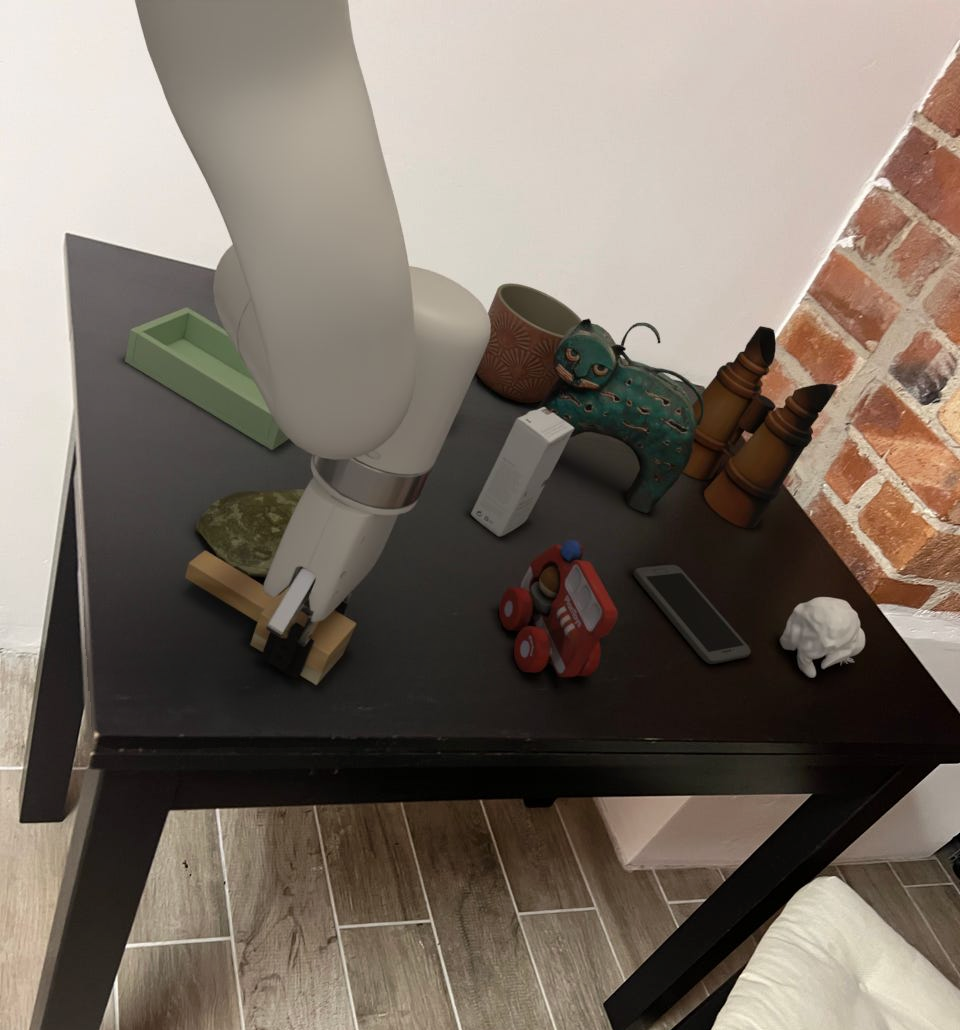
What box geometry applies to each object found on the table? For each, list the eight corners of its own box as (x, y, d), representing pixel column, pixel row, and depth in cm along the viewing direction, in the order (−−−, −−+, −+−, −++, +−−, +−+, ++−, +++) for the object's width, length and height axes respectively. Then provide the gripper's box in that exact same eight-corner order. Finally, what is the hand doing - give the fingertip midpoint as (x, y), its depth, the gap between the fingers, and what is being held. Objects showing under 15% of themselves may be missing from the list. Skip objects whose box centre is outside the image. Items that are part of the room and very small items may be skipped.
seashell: (176, 514, 74) (267, 432, 74) (202, 532, 81) (285, 456, 82) (261, 605, 73) (352, 521, 74) (280, 615, 81) (363, 538, 81)
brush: (171, 598, 70) (180, 564, 67) (206, 570, 73) (215, 537, 71) (315, 686, 69) (329, 654, 67) (343, 654, 73) (357, 623, 71)
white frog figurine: (812, 582, 96) (871, 588, 103) (760, 637, 100) (819, 640, 108) (850, 626, 92) (908, 629, 100) (794, 681, 97) (853, 680, 104)
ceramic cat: (503, 455, 106) (582, 299, 94) (510, 430, 111) (586, 279, 99) (653, 524, 109) (748, 382, 97) (652, 497, 114) (743, 359, 102)
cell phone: (673, 568, 104) (676, 563, 103) (750, 657, 97) (754, 652, 96) (629, 572, 99) (633, 567, 99) (707, 666, 92) (711, 661, 92)
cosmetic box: (500, 539, 94) (552, 444, 86) (466, 514, 94) (515, 417, 87) (527, 521, 98) (579, 428, 91) (495, 497, 99) (543, 403, 92)
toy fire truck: (549, 601, 89) (599, 521, 83) (591, 698, 82) (651, 618, 75) (487, 593, 86) (534, 509, 80) (525, 693, 78) (581, 609, 72)
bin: (124, 361, 89) (130, 328, 87) (180, 337, 96) (186, 306, 94) (271, 450, 88) (281, 420, 86) (316, 419, 95) (326, 390, 93)
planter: (473, 346, 124) (506, 272, 117) (554, 387, 126) (591, 316, 119) (455, 381, 115) (489, 303, 108) (542, 425, 116) (582, 350, 109)
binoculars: (769, 527, 122) (866, 402, 110) (731, 529, 117) (829, 398, 105) (688, 442, 131) (769, 318, 119) (649, 441, 126) (731, 310, 114)
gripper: (378, 393, 66) (310, 573, 78) (255, 481, 53) (193, 684, 64) (466, 445, 66) (384, 619, 78) (364, 548, 53) (283, 739, 64)
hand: (298, 646), depth 71 cm, fingers closed on brush, 4 cm apart
